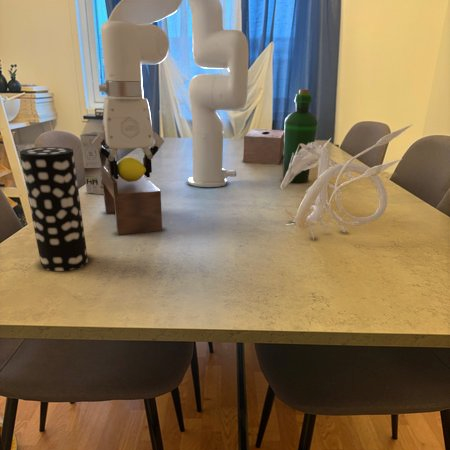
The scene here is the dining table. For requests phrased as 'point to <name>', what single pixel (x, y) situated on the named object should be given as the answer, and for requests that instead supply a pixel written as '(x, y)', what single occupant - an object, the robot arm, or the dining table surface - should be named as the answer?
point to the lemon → (130, 169)
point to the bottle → (299, 132)
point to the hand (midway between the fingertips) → (131, 176)
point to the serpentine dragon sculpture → (320, 186)
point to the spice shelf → (132, 204)
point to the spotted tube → (55, 207)
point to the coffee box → (93, 163)
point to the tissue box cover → (263, 146)
